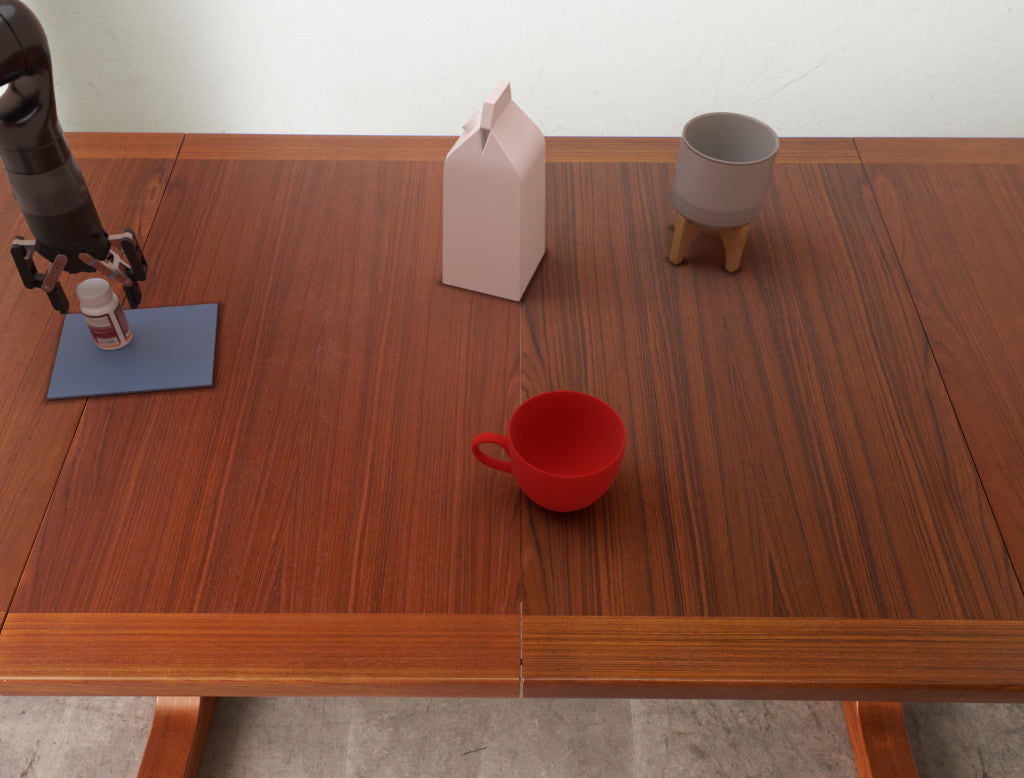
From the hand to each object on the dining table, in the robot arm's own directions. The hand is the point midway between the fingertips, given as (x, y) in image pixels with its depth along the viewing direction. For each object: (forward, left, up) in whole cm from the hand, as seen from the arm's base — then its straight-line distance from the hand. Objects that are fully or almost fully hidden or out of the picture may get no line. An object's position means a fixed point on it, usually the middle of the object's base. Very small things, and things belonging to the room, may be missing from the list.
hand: (100, 307), depth 114 cm
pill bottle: (0, 0, -5) cm, 5 cm away
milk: (+52, +10, -6) cm, 53 cm away
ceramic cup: (+52, -32, -6) cm, 61 cm away
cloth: (+3, -2, -6) cm, 7 cm away
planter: (+84, +11, -6) cm, 85 cm away
